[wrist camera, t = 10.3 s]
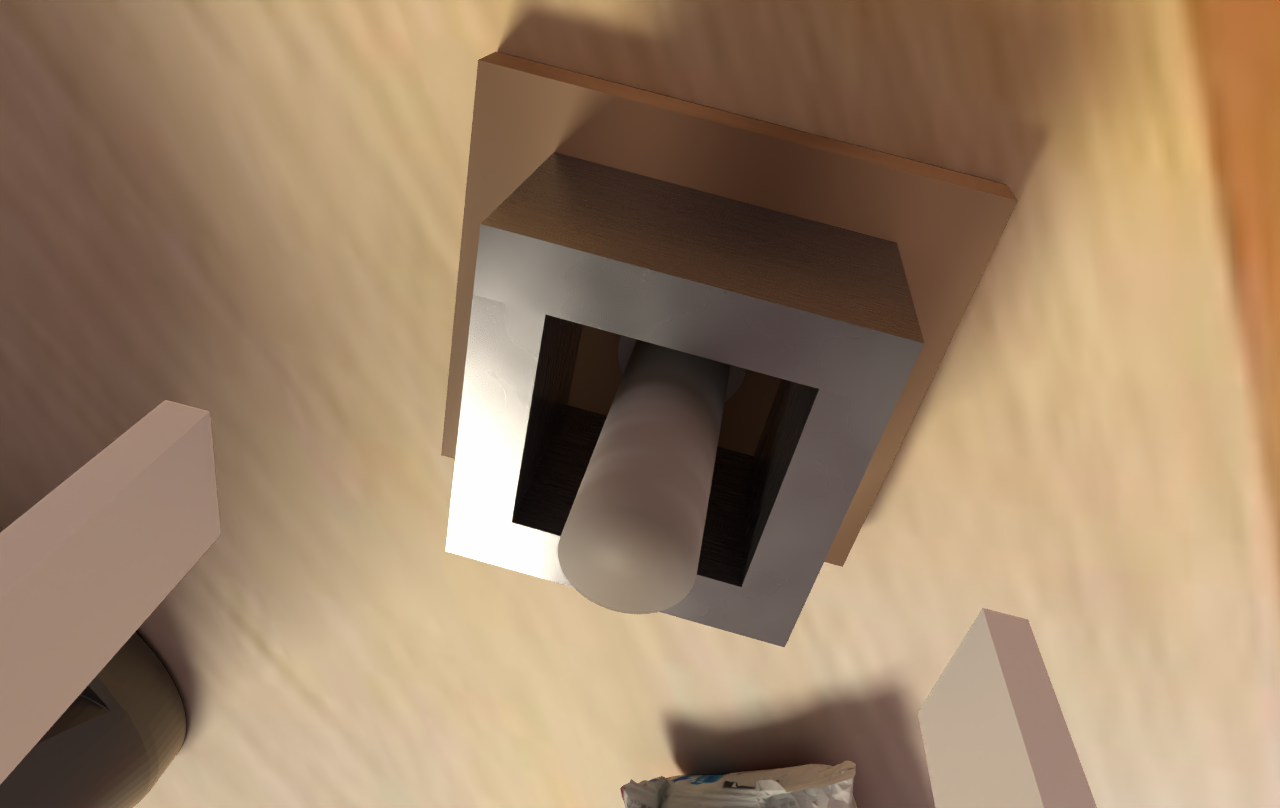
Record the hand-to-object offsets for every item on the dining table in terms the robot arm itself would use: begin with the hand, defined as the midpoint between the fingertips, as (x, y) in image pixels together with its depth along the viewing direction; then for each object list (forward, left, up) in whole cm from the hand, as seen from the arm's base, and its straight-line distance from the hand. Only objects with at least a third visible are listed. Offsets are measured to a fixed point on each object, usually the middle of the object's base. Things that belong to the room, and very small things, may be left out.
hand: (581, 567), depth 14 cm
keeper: (+1, 0, -9) cm, 9 cm away
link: (+1, 0, -8) cm, 8 cm away
